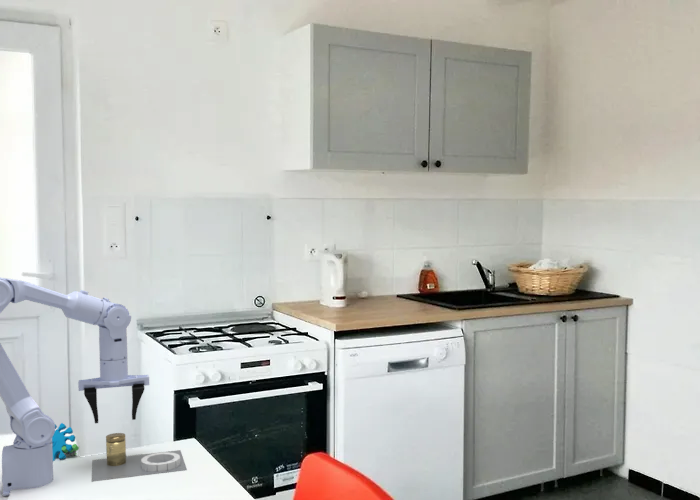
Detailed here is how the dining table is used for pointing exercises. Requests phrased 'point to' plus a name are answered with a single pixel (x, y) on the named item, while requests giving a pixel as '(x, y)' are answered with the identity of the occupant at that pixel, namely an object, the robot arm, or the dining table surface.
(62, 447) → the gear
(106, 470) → the housing plate
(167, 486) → the dining table surface
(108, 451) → the brass shaft
